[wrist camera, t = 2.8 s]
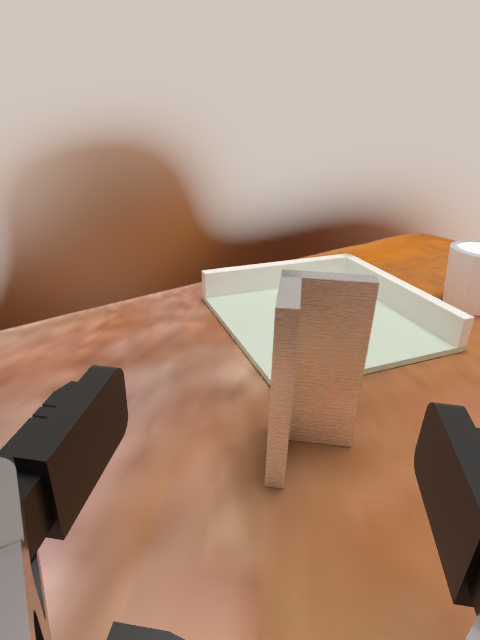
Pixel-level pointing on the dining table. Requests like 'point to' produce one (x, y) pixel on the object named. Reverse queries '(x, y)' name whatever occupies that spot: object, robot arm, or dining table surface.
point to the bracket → (317, 361)
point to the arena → (388, 322)
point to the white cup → (463, 277)
